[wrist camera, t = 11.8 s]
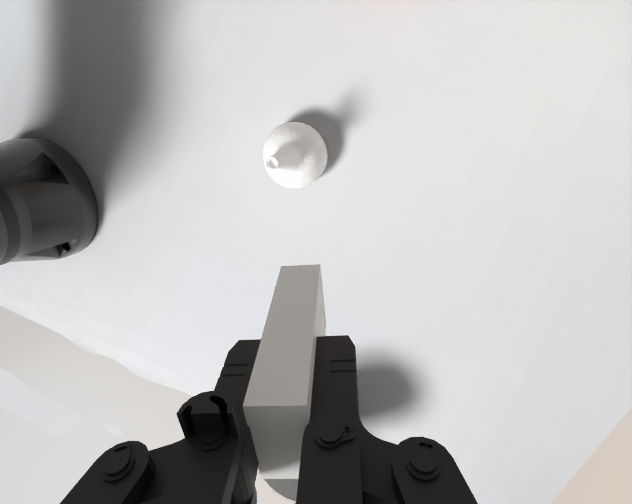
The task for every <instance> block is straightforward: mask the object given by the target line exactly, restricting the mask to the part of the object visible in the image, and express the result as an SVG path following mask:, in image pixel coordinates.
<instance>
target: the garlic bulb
mask: <svg viewBox="0 0 632 504" xmlns="http://www.w3.org/2000/svg"><path fill="white" fill-rule="evenodd" d="M263 159H264V164H265V167H266V170H267V172H268V173H269V175H270V176H271V177H272V178H273V179H274V180H275V181H276V182H277V183H279V184H280V185H282V186H285V187H288V188H302V187H306V186H308V185H310V184H312V183H314V182H315V181H316V180H317V179H318V178H319V177H320V176H321V174H322V173H323V171H324V169H325V167H326V164H327V148H326V145H325V142H324V140H323V138H322V137H321V135H320V134H319V133H318V132H317V131H316V130H315V129H314V128H312V127H311V126H309V125H307V124H304V123H300V122H288V123H284V124H282V125H280V126H278V127H277V128H275V129H274V130H273V131H272V132H271V133H270V135H269V136H268V138H267V140H266V142H265V145H264V151H263Z"/></svg>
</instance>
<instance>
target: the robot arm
mask: <svg viewBox="0 0 632 504" xmlns="http://www.w3.org/2000/svg"><path fill="white" fill-rule="evenodd" d="M96 227H97V205H96V200H95V196H94V193H93V190H92V187H91V185H90V183H89V181H88V179H87V177H86V175H85V173H84V172H83V170H82V169H81V168H80V166H79V165H78V164H77V162H76V161H75V160H74V159H73V158H72V157H71V156H70V155H69V154H68V153H67V152H66V151H64V150H63V149H62V148H60V147H59V146H57V145H55V144H54V143H52V142H49V141H47V140H44V139H39V138H23V139H12V140H8V141H5V142H2V143H0V265H2V264H5V263H8V262H15V261H35V260H55V259H60V258H64V257H67V256H69V255H72V254H75V253H77V252H79V251H81V250H83V249H84V248H85V247H86V246H87V245H88V244H89V243H90V242H91V240H92V238H93V236H94V234H95V231H96ZM325 329H326V318H325V308H324V298H323V288H322V278H321V268H320V265H301V266H281V269H280V273H279V277H278V280H277V284H276V287H275V291H274V295H273V298H272V302H271V306H270V309H269V313H268V316H267V320H266V324H265V327H264V331H263V334H262V338H261V339H260V340H239V341H238V342H237V343H236V344H235V345H234V346H233V347H232V348H231V350H230V351H229V352H228V355H227V357H226V360H225V363H224V367H223V368H222V371H221V374H220V377H219V379H218V382H217V384H216V387H215V390H214V391H209V392H203V393H200V394H198V395H196V396H194V397H192V398H190V399H189V400H188V401H187V402H185V403H184V404H183V405H182V407H181V408H180V409H179V411H178V412H177V417H178V419H179V422H180V425H181V427H182V430H183V433H184V436H185V438H184V439H182V440H181V441H178V442H176V443H173V444H171V445H167V446H164V447H160V448H158V449H154V450H151V451H148V449H147V447H146V445H144V444H143V443H141V442H139V441H127V442H124V443H120V444H117V445H115V446H114V447H112V448H110V449H109V450H107V451H105V452H104V453H103V454H102V455H101V456H100V457H99V458H98V459H97V460H96V461H95V462H94V463H93V465H92V466H91V467H90V468H89V469H88V471H87V472H86V473H85V474H84V476H83V477H82V478H81V479H80V480H79V481H78V483H77V484H76V485H75V486H74V487H73V489H72V490H71V491H70V492H69V493H68V495H67V496H66V497H65V498H64V499H63V501H62V502H61V503H60V504H256V503H257V492H256V488H255V480H256V475H257V470H258V469H259V473H260V477H261V479H298V487H297V497H296V504H478V503H477V501H476V500H475V498H474V496H473V494H472V492H471V490H470V489H469V487H468V485H467V483H466V481H465V479H464V477H463V476H462V474H461V472H460V470H459V468H458V466H457V465H456V463H455V461H454V459H453V457H452V456H451V455H450V453H449V452H448V451H447V450H446V448H445V447H444V446H442V445H441V444H439V443H438V442H436V441H435V440H432V439H428V438H425V437H410V438H408V439H406V440H404V441H402V442H400V443H399V445H396V444H393V443H390V442H387V441H383V440H381V439H379V438H376V437H375V436H373V435H372V434H370V433H369V432H368V431H367V430H366V429H365V428H364V426H363V425H362V423H361V421H360V418H359V407H358V387H357V369H356V351H355V345H354V344H353V342H352V341H351V339H350V338H349V336H348V335H347V336H325Z"/></svg>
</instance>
